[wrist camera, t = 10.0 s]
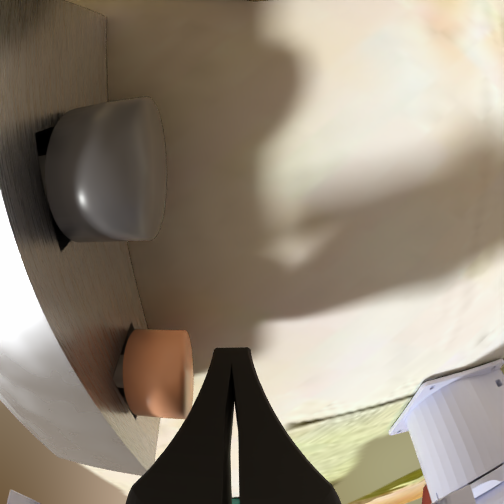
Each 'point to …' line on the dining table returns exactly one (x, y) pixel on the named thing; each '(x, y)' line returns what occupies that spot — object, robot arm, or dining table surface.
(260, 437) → the robot arm
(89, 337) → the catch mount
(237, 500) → the green bottle
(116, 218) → the gray knob
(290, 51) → the dining table surface
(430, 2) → the dining table surface
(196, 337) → the dining table surface
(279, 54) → the dining table surface
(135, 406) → the terracotta knob
